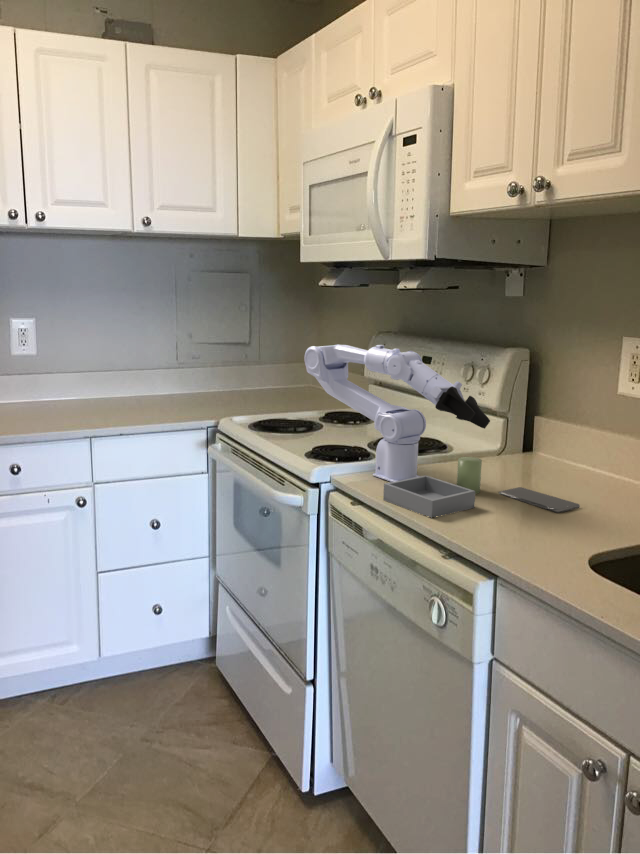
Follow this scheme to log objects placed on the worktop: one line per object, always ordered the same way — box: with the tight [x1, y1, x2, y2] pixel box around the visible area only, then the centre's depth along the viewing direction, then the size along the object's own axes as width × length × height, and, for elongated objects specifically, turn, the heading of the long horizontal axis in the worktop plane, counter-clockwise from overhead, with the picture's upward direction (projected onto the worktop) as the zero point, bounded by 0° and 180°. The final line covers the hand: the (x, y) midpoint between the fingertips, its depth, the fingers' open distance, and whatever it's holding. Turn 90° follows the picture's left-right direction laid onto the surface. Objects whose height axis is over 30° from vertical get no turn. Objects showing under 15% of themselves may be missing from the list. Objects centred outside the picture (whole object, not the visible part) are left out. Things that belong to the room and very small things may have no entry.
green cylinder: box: [456, 456, 483, 495], centre depth 159 cm, size 5×5×7 cm
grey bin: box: [382, 474, 476, 519], centre depth 149 cm, size 14×12×4 cm
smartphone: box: [498, 486, 581, 514], centre depth 153 cm, size 7×1×16 cm
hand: (479, 421), depth 150 cm, fingers open, 7 cm apart
